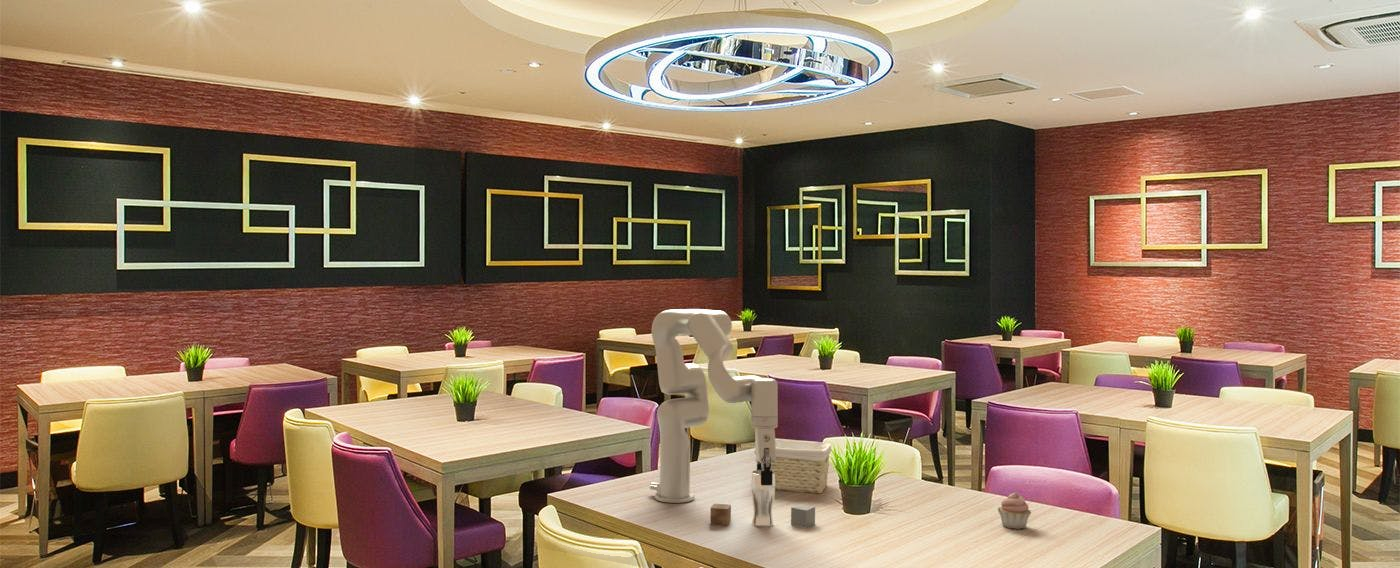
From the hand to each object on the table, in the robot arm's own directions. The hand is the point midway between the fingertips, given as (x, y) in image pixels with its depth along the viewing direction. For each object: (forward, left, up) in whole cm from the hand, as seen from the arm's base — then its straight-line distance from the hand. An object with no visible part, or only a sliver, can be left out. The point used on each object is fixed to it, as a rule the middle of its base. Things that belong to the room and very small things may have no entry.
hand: (764, 481), depth 261 cm
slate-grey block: (+10, +6, -13) cm, 17 cm away
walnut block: (-11, -5, -13) cm, 18 cm away
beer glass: (0, 0, -13) cm, 13 cm away
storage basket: (-10, +47, -13) cm, 49 cm away
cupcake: (+64, +34, -13) cm, 73 cm away
